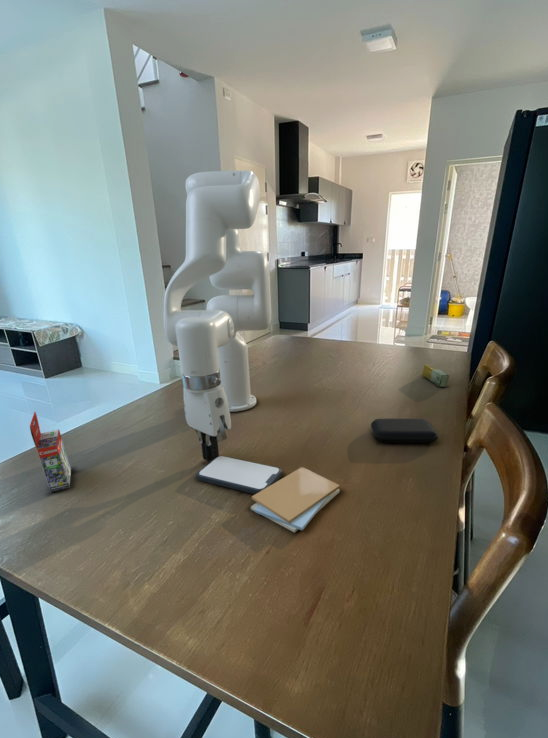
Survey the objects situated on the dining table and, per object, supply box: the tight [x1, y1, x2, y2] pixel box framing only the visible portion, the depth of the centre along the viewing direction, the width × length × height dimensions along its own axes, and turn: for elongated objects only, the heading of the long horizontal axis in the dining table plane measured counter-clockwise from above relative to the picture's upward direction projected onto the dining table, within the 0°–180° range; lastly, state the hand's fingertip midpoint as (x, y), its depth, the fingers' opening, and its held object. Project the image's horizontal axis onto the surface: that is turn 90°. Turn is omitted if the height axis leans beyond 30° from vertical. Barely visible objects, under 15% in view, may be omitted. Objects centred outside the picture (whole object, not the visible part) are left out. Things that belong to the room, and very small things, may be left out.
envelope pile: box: [250, 466, 341, 534], centre depth 70 cm, size 12×15×2 cm
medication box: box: [421, 363, 450, 388], centre depth 127 cm, size 12×3×4 cm, turn 10°
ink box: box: [29, 411, 72, 493], centre depth 76 cm, size 4×8×15 cm, turn 26°
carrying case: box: [370, 417, 439, 444], centre depth 93 cm, size 11×3×15 cm
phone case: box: [196, 455, 283, 495], centre depth 78 cm, size 9×2×16 cm
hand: (211, 457), depth 84 cm, fingers closed
